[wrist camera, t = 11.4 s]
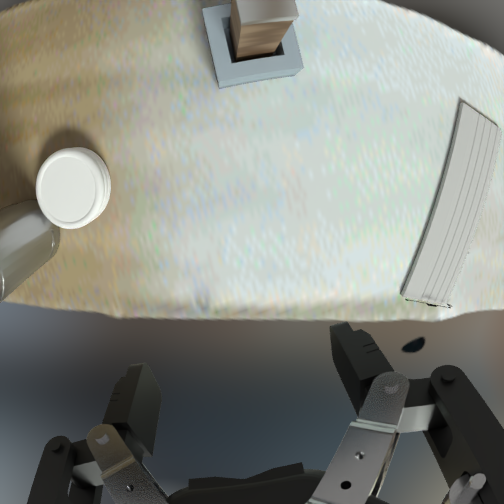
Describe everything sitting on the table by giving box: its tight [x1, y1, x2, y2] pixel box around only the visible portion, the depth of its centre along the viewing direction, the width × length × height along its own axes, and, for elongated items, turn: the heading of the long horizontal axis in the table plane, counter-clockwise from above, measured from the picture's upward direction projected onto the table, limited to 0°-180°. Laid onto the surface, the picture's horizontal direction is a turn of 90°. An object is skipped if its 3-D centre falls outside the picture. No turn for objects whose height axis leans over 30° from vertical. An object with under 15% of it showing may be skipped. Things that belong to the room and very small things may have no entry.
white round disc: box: [36, 147, 111, 229], centre depth 35 cm, size 10×10×4 cm
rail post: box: [230, 0, 299, 63], centre depth 25 cm, size 4×4×15 cm
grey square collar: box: [202, 3, 304, 89], centre depth 30 cm, size 9×9×5 cm
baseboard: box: [401, 103, 502, 308], centre depth 41 cm, size 31×3×12 cm
